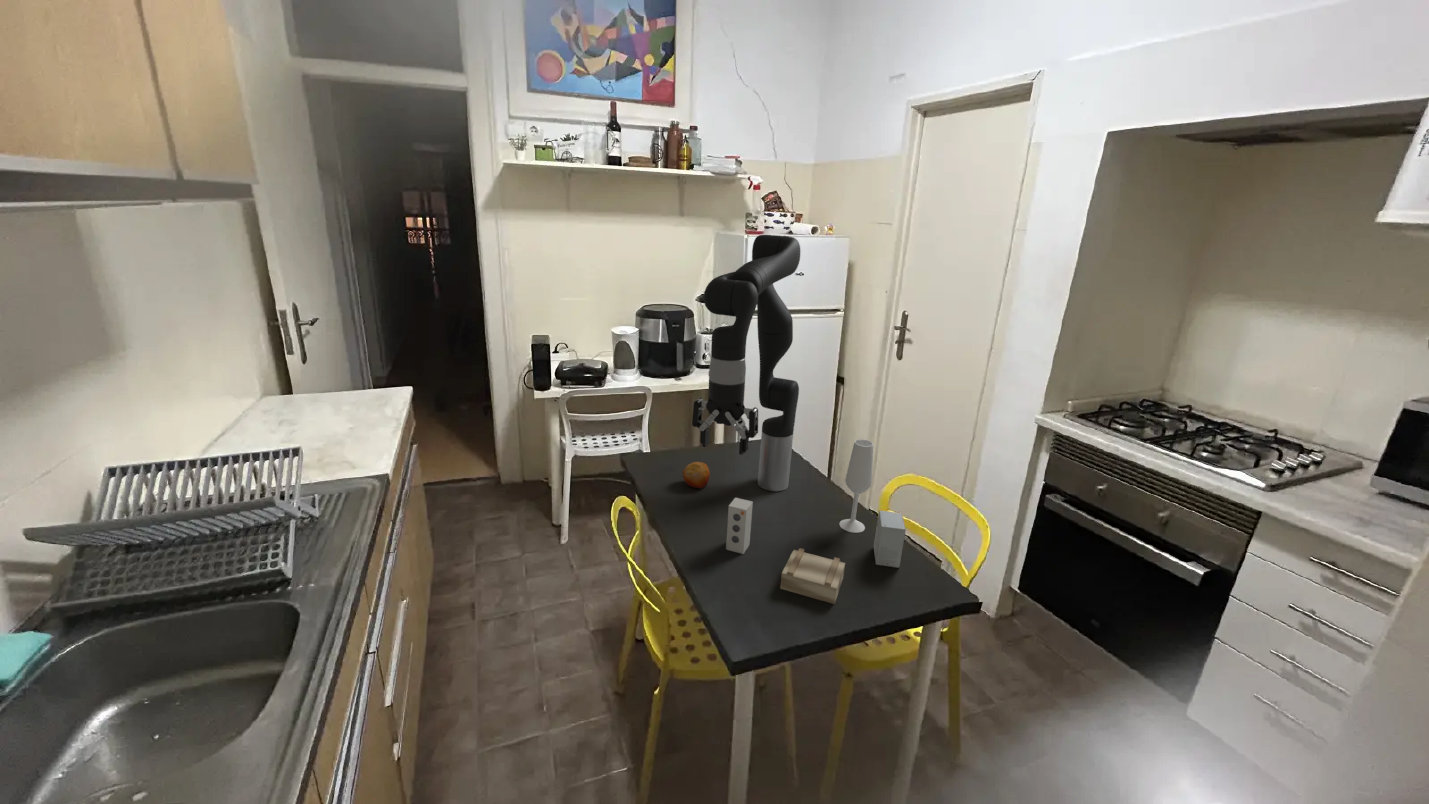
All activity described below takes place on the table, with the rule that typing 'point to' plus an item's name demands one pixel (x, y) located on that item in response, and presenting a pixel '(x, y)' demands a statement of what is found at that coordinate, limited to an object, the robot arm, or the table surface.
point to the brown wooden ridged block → (813, 576)
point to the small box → (889, 539)
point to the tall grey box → (739, 525)
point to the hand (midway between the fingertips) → (723, 449)
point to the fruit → (696, 474)
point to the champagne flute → (858, 479)
